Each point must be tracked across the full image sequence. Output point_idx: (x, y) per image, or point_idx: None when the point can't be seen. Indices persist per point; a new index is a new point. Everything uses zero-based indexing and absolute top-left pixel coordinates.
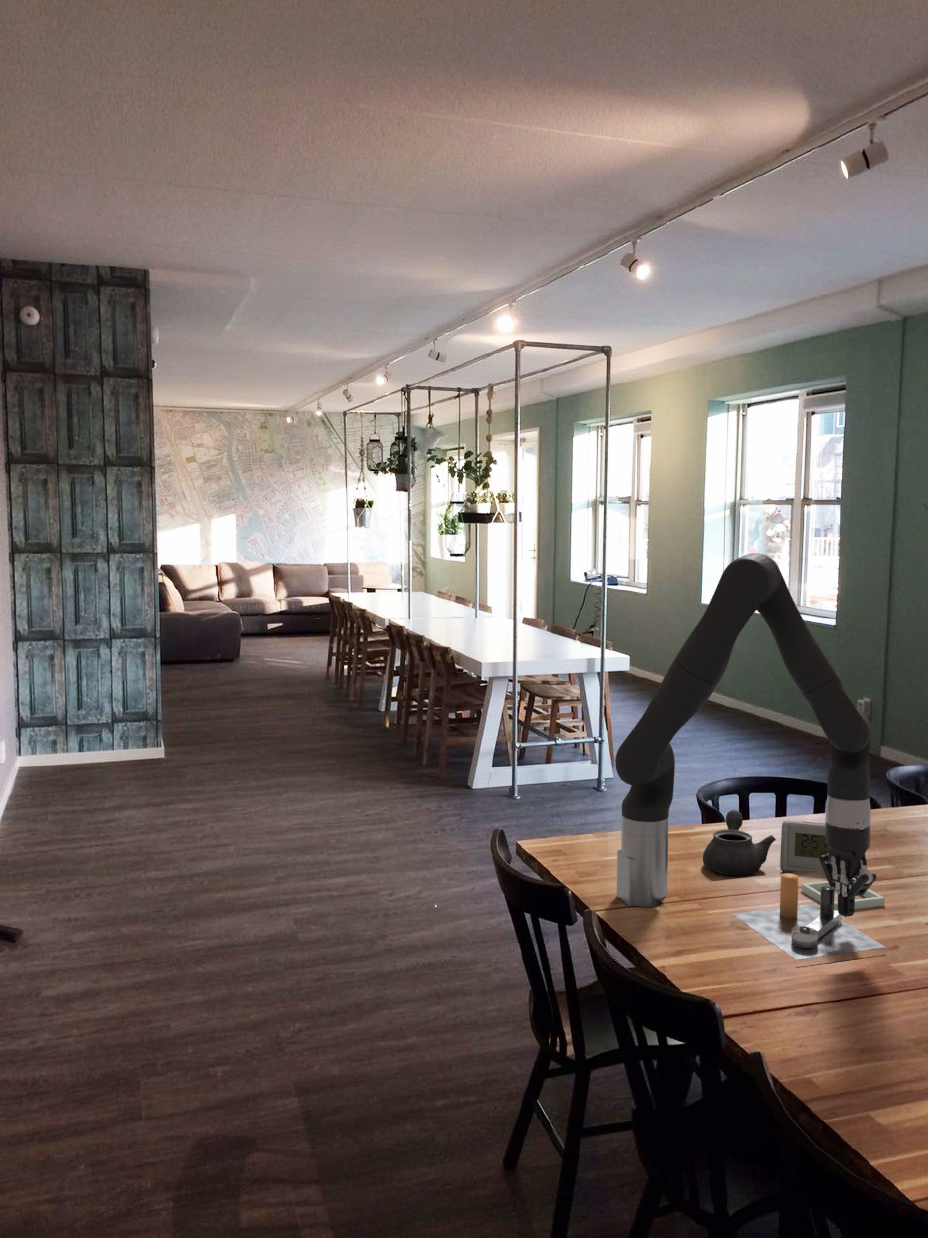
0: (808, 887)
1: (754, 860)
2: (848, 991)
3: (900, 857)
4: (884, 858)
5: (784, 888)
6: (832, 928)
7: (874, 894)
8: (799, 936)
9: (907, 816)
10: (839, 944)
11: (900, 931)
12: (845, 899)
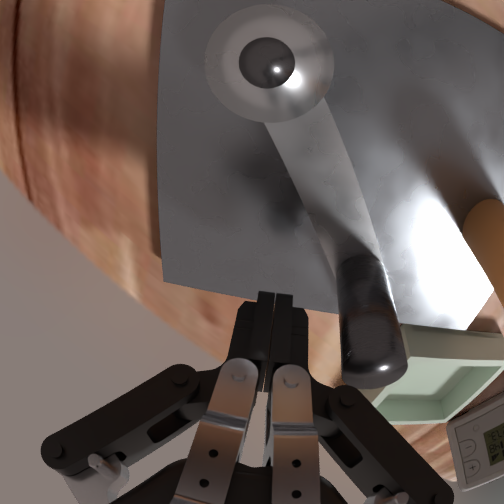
0: (496, 361)
1: None
2: (35, 45)
3: (429, 460)
4: (443, 453)
5: None
6: None
7: None
8: (239, 10)
9: (456, 477)
10: (220, 182)
11: None
12: (247, 353)
